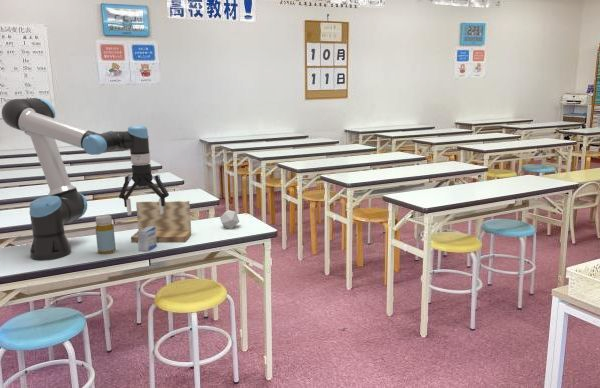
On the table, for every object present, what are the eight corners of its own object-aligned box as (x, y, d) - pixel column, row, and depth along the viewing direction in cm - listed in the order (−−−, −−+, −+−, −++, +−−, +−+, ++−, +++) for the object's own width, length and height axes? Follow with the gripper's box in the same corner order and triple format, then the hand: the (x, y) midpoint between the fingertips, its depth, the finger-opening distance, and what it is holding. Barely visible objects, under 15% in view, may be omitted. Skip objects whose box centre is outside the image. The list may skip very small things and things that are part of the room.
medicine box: (148, 251, 212) (146, 231, 210) (138, 251, 213) (136, 231, 211) (157, 245, 220) (155, 226, 218) (147, 245, 221) (146, 226, 219)
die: (225, 225, 253) (214, 212, 246) (240, 216, 252) (230, 203, 246) (228, 235, 246) (218, 222, 240) (244, 226, 246) (234, 212, 240)
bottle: (117, 248, 217) (113, 214, 214) (114, 253, 210) (110, 218, 207) (99, 249, 216) (96, 215, 213) (96, 254, 209) (92, 219, 206)
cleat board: (131, 242, 225) (128, 207, 221) (139, 235, 236) (137, 201, 233) (185, 242, 224) (183, 206, 221) (191, 234, 235) (189, 201, 232)
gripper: (107, 166, 206) (112, 217, 210) (168, 164, 205) (172, 215, 209) (114, 163, 213) (119, 212, 217) (173, 161, 212) (177, 211, 217)
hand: (145, 214), depth 213 cm, fingers open, 13 cm apart
